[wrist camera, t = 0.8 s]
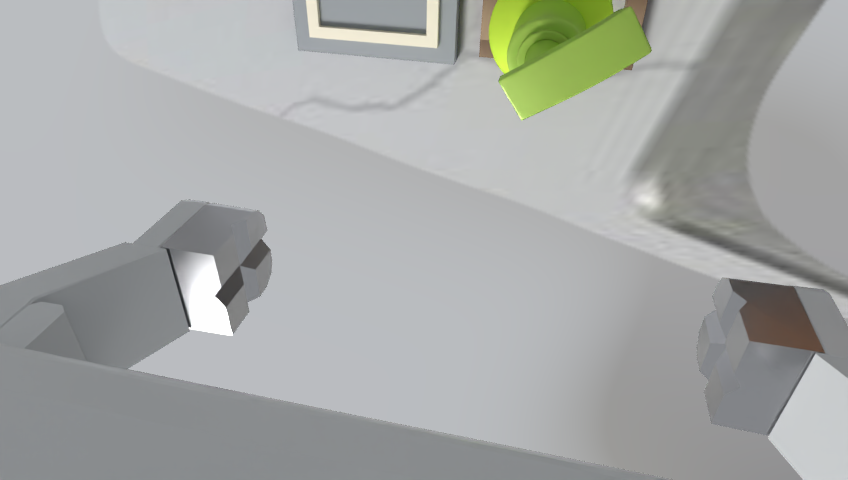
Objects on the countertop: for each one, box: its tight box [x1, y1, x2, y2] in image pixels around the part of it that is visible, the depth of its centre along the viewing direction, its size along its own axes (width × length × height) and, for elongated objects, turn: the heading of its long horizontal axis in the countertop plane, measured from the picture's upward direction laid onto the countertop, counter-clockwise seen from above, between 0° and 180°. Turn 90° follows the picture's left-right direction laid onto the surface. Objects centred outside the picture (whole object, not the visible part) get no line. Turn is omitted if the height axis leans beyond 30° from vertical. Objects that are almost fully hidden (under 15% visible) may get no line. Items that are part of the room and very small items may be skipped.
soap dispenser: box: [489, 0, 652, 120], centre depth 30 cm, size 6×7×20 cm
